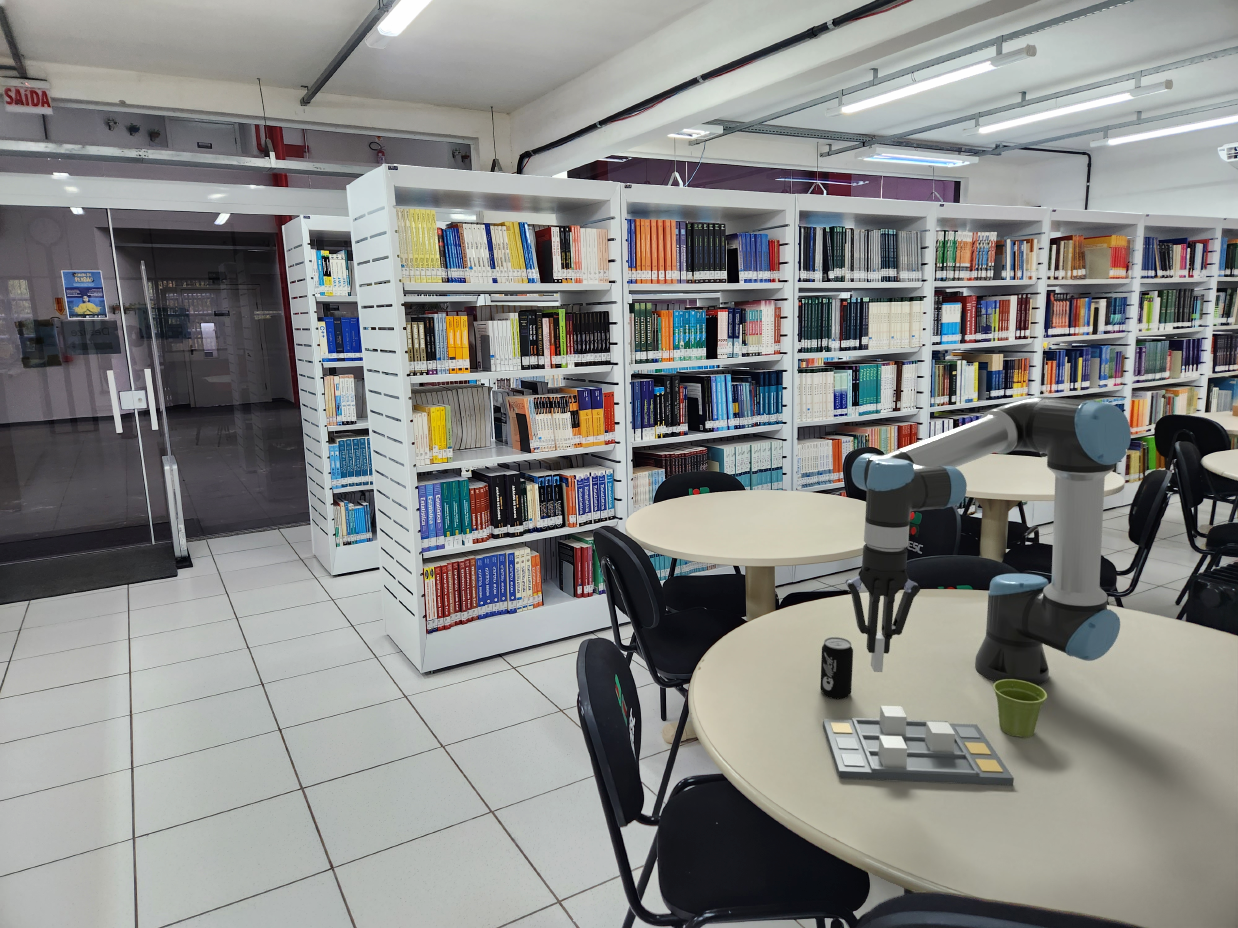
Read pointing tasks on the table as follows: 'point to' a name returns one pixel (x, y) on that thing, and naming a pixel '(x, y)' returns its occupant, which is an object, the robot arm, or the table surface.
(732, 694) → the table surface
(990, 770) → the switch bank
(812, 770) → the table surface
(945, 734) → the white cube
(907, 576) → the robot arm
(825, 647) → the beverage can
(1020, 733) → the plant pot
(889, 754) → the white cube
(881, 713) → the white cube
